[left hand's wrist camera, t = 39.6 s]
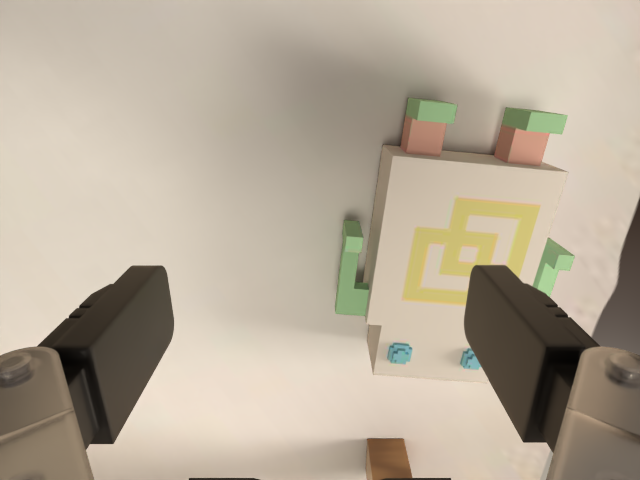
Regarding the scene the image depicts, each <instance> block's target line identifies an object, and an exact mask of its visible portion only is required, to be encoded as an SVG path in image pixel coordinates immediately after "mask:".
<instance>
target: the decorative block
mask: <svg viewBox="0 0 640 480" xmlns="http://www.w3.org/2000/svg"><path fill="white" fill-rule="evenodd" d="M456 110H457V104H453V103H448V102H443V101H435V100H425V99H415V98H408V103H407V109H406V115H405V122H404V128H403V134H402V140H401V146H392V145H383V147H382V154H381V160H380V167H379V174H378V181H377V188H376V195H375V201H374V208H373V215H372V222H371V229H370V236H369V242H368V249H367V256H366V263H365V270H364V277H363V282H355V277H356V270H357V263H358V256H359V253H361V251H362V244H363V235H362V231H361V227H360V223H359V221H349V220H344V225H343V233H342V235H343V245H342V253H341V261H340V269H339V278H338V286H337V294H336V302H335V313H336V314H346V315H358V316H365V319H366V324H369V331H368V338H367V343H368V348H369V354H370V360H371V365H372V371H373V375H382V376H396V377H409V378H422V379H435V380H449V381H462V382H475V383H487V382H488V378H487V376H486V374H485V372H484V371H483V369H482V367H481V365H480V363H479V361H478V360H477V358H476V356H475V354H474V352H473V351H472V349H471V347H470V345H469V343H468V342H467V339H466V336H465V331H464V314H465V308H466V301H467V294H468V288H469V281H470V275H471V271H472V268H473V267H474V266H475V265H506V266H507V267H508V268H509V269H510V270H511V271H512V272H513V273H514V274H515V275H516V276H517V277H518V278H519V279H520V280H521V281H522V282H523V283H527V284H529V285H531V286H533V287H535V288H536V289H538V290H540V291H542V292H544V293H546V294H547V295H548V296H549V297H550V295H551V292H552V289H553V286H554V283H555V280H556V277H557V274H558V271H559V270H567V271H570V269H571V266H572V263H573V260H574V257H575V256H574V255H573V254H571V253H570V252H569V251H567V250H566V249H564V248H563V247H561V246H560V245H559V244H557V243H556V242H554V241H553V240H552V239H550V238H548V235H549V232H550V229H551V226H552V223H553V220H554V217H555V213H556V210H557V207H558V204H559V201H560V198H561V194H562V191H563V188H564V185H565V182H566V179H567V175H568V172H567V171H564V170H562V169H559V168H556V167H554V166H551V165H549V164H546V163H544V162H542V158H543V155H544V151H545V148H546V144H547V141H548V138H549V134H550V133H553V134H562V133H563V130H564V126H565V123H566V120H567V116H568V115H562V114H556V113H550V112H544V111H537V110H527V109H517V108H506V109H505V113H504V117H503V122H502V126H501V130H500V134H499V138H498V142H497V146H496V150H495V154H494V155H487V154H477V153H466V152H455V151H445V150H442V145H443V140H444V135H445V130H446V125H447V123H449V124H454V120H455V115H456Z"/></svg>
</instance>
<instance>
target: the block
mask: <svg viewBox="0 0 640 480" xmlns="http://www.w3.org/2000/svg"><path fill="white" fill-rule="evenodd" d="M366 476H367V480H381V479H385V478H412V474H411V469H410V465H409V461H408V456H407V452H406V447H405V443H404V439H367V454H366Z"/></svg>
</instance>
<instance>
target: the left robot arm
mask: <svg viewBox="0 0 640 480" xmlns="http://www.w3.org/2000/svg"><path fill="white" fill-rule="evenodd" d="M173 330H174V317H173V310H172V303H171V297H170V290H169V284H168V277H167V272H166V270H165V268H164V267H163V266H131V267H130V268H129V269H128V270H127V271H126V272H125V273H124V274H123V275H122V276H121V277H120V278H119V279H118V280H117V281H116V282H115V283H114V284H110V285H108V286H106V287H104V288H102V289H100V290H98V291H97V292H95V293H93V294H91V295H90V296H89V297H88V298H87V299H86V300H85V301H84V302H83V303H82V304H81V305H80V306H79V308H77V309H76V310H75V311H73V312H72V313H71V314H70V315H69V318H66V319H65V320H64V321H63V322H62V323H61V324H60V325H59V326H58V327H57V328H56V329H55V330H54V331H53V332H52V333H50V334H49V335H48V336H47V337H46V338H45V339H44V340H43V341H42V342H41V343H40V344H39V345H38V346H37V347H28V348H23V349H18V350H15V351H11V352H8V353H6V354H3V355H1V356H0V480H94V478H93V474H92V471H91V467H90V463H89V460H88V456H87V453H86V449H87V448H88V446H89V444H114V442H115V440H116V438H117V436H118V435H119V433H120V431H121V429H122V428H123V426H124V424H125V422H126V420H127V419H128V417H129V415H130V413H131V411H132V410H133V408H134V406H135V404H136V403H137V401H138V399H139V397H140V395H141V394H142V392H143V390H144V388H145V387H146V385H147V383H148V381H149V379H150V378H151V376H152V374H153V372H154V370H155V369H156V367H157V365H158V363H159V362H160V360H161V358H162V356H163V354H164V353H165V351H166V349H167V347H168V346H169V344H170V342H171V339H172V336H173ZM464 331H465V336H466V339H467V342H468V343H469V345H470V347H471V349H472V351H473V352H474V354H475V356H476V358H477V360H478V361H479V363H480V365H481V367H482V369H483V371H484V372H485V374H486V376H487V378H488V380H489V381H490V383H491V385H492V387H493V389H494V390H495V392H496V394H497V396H498V398H499V399H500V401H501V403H502V405H503V407H504V408H505V410H506V412H507V414H508V416H509V417H510V419H511V421H512V423H513V425H514V426H515V428H516V430H517V432H518V434H519V435H520V437H521V439H522V441H523V442H547V444H548V445H549V447H550V449H551V450H552V452H553V456H552V460H551V464H550V467H549V471H548V474H547V478H546V480H640V356H639V355H637V354H634V353H632V352H629V351H625V350H622V349H617V348H612V347H601V346H599V345H598V344H597V343H596V342H595V341H594V340H593V339H592V338H591V337H590V336H589V335H588V334H587V333H586V332H585V331H584V330H583V329H582V328H581V327H580V326H579V325H578V324H577V323H576V322H575V321H574V320H573V319H572V318H571V317H568V315H567V314H566V313H565V312H564V311H563V310H562V309H561V308H560V307H558V305H557V304H556V303H555V302H554V301H553V300H552V299H551V298H550V297H549V296H548V295H547V294H546V293H544V292H542V291H540V290H538V289H536V288H535V287H533V286H531V285H529V284H527V283H523V282H522V281H521V280H520V279H519V278H518V277H517V276H516V275H515V274H514V273H513V272H512V271H511V270H510V269H509V268H508V267H507V266H506V265H475V266H474V267H473V268H472V271H471V275H470V281H469V288H468V294H467V301H466V308H465V314H464ZM189 480H259V479H255V478H189ZM381 480H451V478H385V479H381Z"/></svg>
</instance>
